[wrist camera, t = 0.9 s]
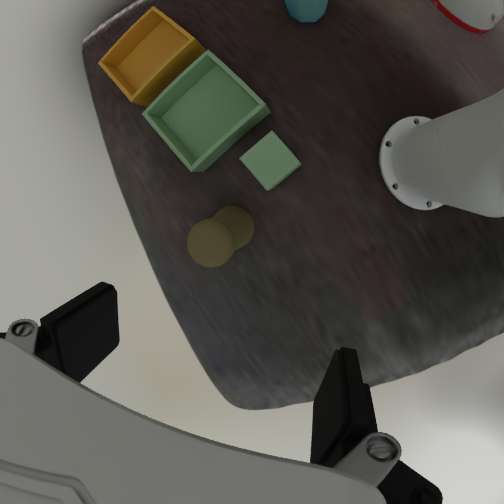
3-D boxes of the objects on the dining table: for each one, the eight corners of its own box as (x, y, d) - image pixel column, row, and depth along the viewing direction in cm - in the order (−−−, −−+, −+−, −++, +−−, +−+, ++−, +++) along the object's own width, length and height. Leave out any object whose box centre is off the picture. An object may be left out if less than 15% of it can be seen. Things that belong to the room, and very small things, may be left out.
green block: (276, 135, 35) (271, 130, 30) (301, 164, 35) (301, 163, 30) (247, 160, 36) (238, 158, 32) (272, 189, 37) (267, 191, 32)
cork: (203, 221, 40) (167, 239, 29) (237, 196, 38) (210, 205, 27) (228, 256, 40) (201, 285, 30) (263, 233, 39) (246, 255, 28)
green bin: (218, 60, 33) (207, 49, 29) (271, 112, 34) (266, 104, 30) (157, 118, 37) (141, 114, 33) (203, 172, 38) (190, 172, 34)
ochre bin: (165, 17, 32) (153, 5, 28) (206, 50, 33) (195, 38, 29) (114, 69, 36) (97, 63, 31) (147, 107, 37) (131, 102, 32)
